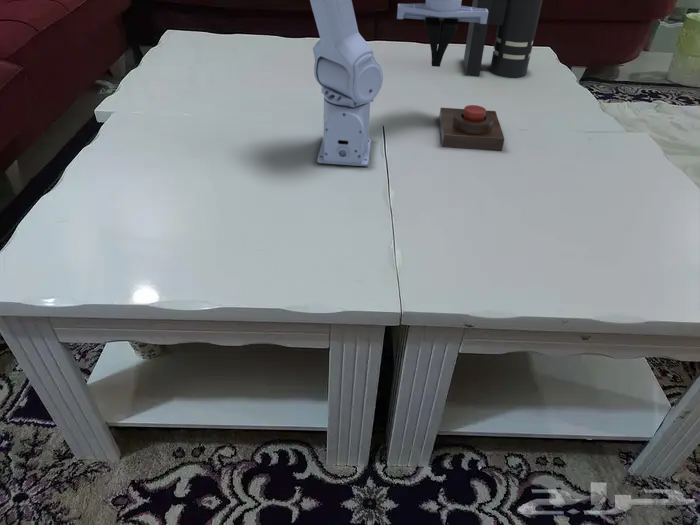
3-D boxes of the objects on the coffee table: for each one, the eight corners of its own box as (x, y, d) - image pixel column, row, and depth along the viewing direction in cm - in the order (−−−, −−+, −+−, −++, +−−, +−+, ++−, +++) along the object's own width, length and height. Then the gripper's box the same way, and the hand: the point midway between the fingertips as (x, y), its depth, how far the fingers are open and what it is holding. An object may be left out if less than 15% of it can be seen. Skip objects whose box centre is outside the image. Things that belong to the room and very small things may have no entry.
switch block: (502, 150, 96) (506, 128, 93) (442, 146, 96) (445, 124, 94) (493, 122, 105) (497, 101, 103) (438, 118, 106) (441, 97, 103)
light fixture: (529, 80, 125) (549, -9, 114) (466, 75, 126) (480, -13, 115) (522, 65, 133) (541, -19, 122) (463, 61, 134) (476, -23, 123)
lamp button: (485, 123, 96) (487, 113, 94) (463, 122, 96) (465, 112, 95) (482, 115, 98) (484, 105, 97) (461, 114, 99) (463, 104, 98)
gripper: (490, -25, 93) (475, 60, 101) (400, -30, 93) (393, 55, 102) (495, -16, 87) (480, 73, 95) (400, -22, 88) (393, 67, 96)
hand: (435, 64), depth 98 cm, fingers closed
